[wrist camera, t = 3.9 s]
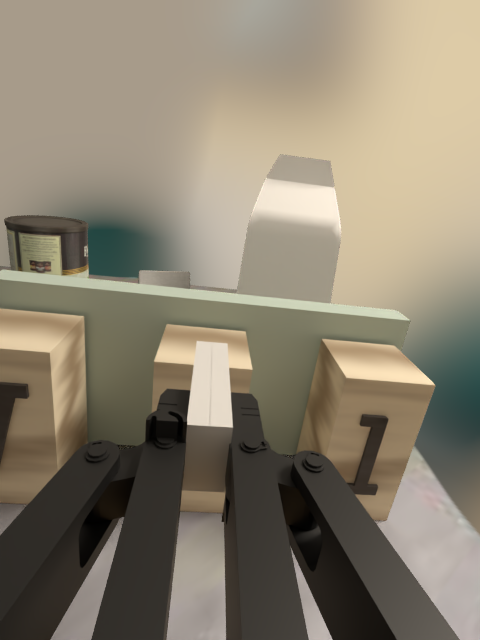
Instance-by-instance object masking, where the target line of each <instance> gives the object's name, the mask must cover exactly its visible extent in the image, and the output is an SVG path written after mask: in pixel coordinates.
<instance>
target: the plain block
mask: <svg viewBox="0 0 480 640" xmlns="http://www.w3.org/2000/svg"><path fill="white" fill-rule="evenodd" d="M197 341H204V342H216V343H227V344H228V360H229V375H230V390H231V392H234V393H249V389H250V383H251V376H252V364H251V359H250V353H249V348H248V342H247V337H246V331H235V330H225V329H214V328H203V327H192V326H182V325H171V324H167V325H166V328H165V331H164V334H163V337H162V340H161V343H160V346H159V348H158V351H157V354H156V357H155V360H154V374H153V395H152V413H153V412H154V411H157V406H158V402H159V398H160V395H161V394H162V393H163V392H164V391H165V390H166V389H179V390H191V383H192V375H193V367H194V359H195V351H196V343H197ZM225 493H226V492H225V491H224V492H205V491H182V496H181V507H180V511H188V512H211V513H223V508H224V500H225Z"/></svg>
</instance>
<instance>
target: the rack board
mask: <svg viewBox="0 0 480 640" xmlns="http://www.w3.org/2000/svg"><path fill="white" fill-rule="evenodd" d="M0 308H1V309H12V310H23V311H34V312H44V313H55V314H66V315H77V316H84V327H85V362H86V397H87V432H88V443H89V442H91V441H97V440H107V441H111V442H113V443H115V444H116V445H133V446H138V445H140V444H142V443H143V442H145V431H146V419H147V417H148V416H149V415H150V414H151V413H152V395H153V374H154V360H155V357H156V354H157V351H158V348H159V346H160V343H161V340H162V337H163V334H164V331H165V328H166V325H167V324H171V325H182V326H192V327H203V328H214V329H225V330H235V331H246V337H247V342H248V348H249V353H250V359H251V364H252V376H251V383H250V389H249V394H252V395H253V396H254V397H255V399H256V400H257V401H258V406H259V412H260V417H261V423H262V428H263V433H264V439H265V440H266V441H267V442H268V443H269V445H270V447H271V449H272V450H273V451H274V452H276V453H278V454H281V455H296V451H297V447H298V442H299V438H300V433H301V429H302V424H303V420H304V416H305V411H306V407H307V402H308V398H309V393H310V389H311V384H312V380H313V375H314V371H315V366H316V362H317V357H318V353H319V349H320V344H321V340H322V339H330V340H340V341H351V342H362V343H373V344H383V345H394V346H395V347H396V348H397V349H398V350H399V351H401V350H402V347H403V343H404V340H405V337H406V334H407V331H408V327H409V324H410V320H409V319H408V318H406V317H405V316H404V315H402V314H401V313H400V312H398V311H396V310H388V309H378V308H368V307H358V306H349V305H339V304H330V303H320V302H311V301H301V300H291V299H282V298H272V297H262V296H253V295H243V294H233V293H224V292H214V291H204V290H195V289H185V288H175V287H166V286H156V285H146V284H137V283H127V282H117V281H108V280H98V279H88V278H79V277H69V276H59V275H50V274H40V273H30V272H21V271H11V270H2V271H0Z"/></svg>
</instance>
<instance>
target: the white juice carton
mask: <svg viewBox="0 0 480 640" xmlns="http://www.w3.org/2000/svg"><path fill="white" fill-rule="evenodd" d="M138 284H146V285H156V286H166V287H175V288H185V289H190V273H189V272H176V271H175V272H174V271H139V280H138Z"/></svg>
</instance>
